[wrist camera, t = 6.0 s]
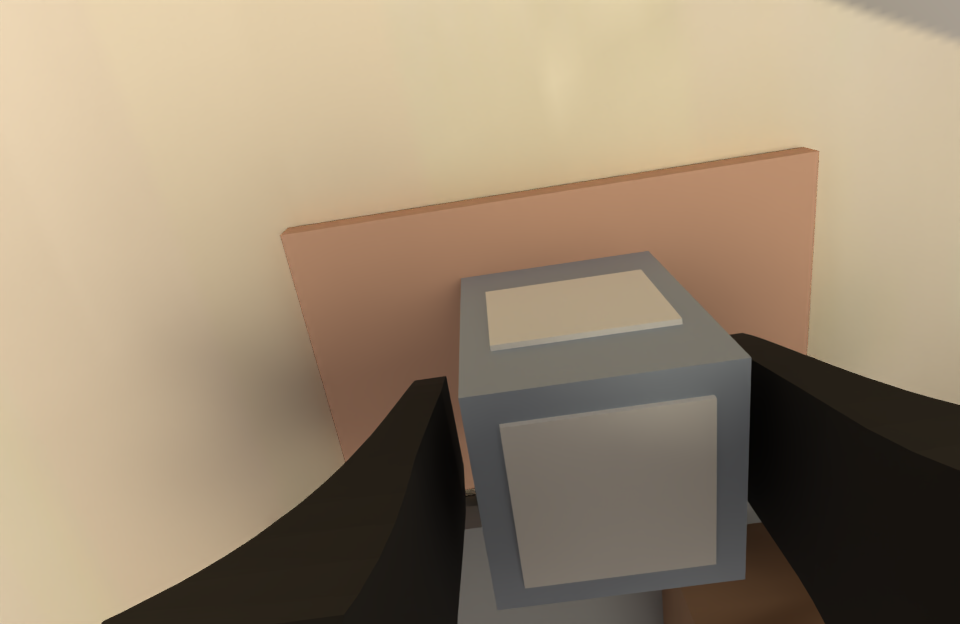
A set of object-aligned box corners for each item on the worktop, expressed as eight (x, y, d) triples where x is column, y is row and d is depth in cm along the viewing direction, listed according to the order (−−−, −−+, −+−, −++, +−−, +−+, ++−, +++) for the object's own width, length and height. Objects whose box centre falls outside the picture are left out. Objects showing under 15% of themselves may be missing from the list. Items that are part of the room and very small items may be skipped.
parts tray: (879, 439, 15) (911, 468, 14) (854, 648, 18) (879, 686, 17) (282, 522, 16) (268, 556, 15) (349, 712, 19) (341, 752, 18)
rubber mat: (803, 147, 13) (819, 150, 12) (789, 429, 15) (801, 443, 15) (287, 228, 13) (280, 235, 12) (361, 488, 16) (357, 504, 15)
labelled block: (648, 246, 13) (754, 354, 8) (654, 411, 14) (747, 584, 10) (460, 273, 13) (457, 395, 8) (487, 435, 14) (498, 615, 10)
